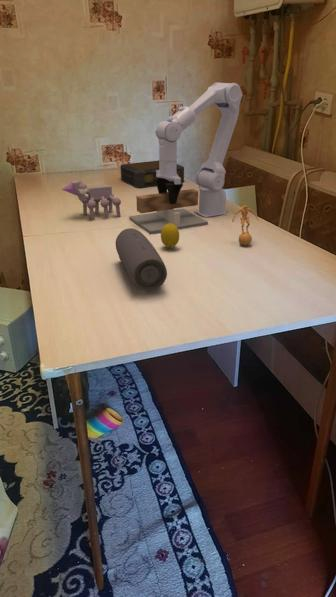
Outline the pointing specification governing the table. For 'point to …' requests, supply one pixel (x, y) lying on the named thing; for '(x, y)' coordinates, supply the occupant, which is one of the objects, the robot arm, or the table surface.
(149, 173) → the cash box
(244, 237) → the figurine
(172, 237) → the lemon
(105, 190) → the purple toy animal
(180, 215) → the fulcrum stand
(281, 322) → the table surface
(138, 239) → the bluetooth speaker
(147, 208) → the walnut beam
